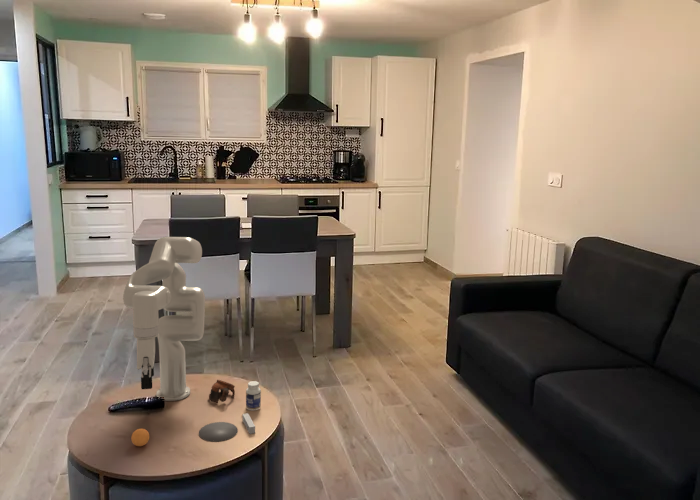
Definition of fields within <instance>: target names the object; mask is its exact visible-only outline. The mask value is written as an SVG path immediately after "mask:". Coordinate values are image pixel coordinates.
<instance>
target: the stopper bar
mask: <svg viewBox="0 0 700 500" xmlns="http://www.w3.org/2000/svg"><path fill="white" fill-rule="evenodd" d="M242 422H243V423H242V424H243V425H244V426H245V428H246V430H247V432H248V435H252V434H256V425H255V424H254V421H253V420H252V418H251V416H250V413H248V412H247V413H242Z"/></svg>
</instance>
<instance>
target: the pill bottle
mask: <svg viewBox="0 0 700 500" xmlns="http://www.w3.org/2000/svg"><path fill="white" fill-rule="evenodd" d="M261 393H262V391H261V388H260V382H259V381H256V380H253V381H252V380H251V381H248V383H247V388H246V390H245V408H246V409H247V410H249V411H258V410H260V409H261V397H262V396H261V395H262V394H261Z"/></svg>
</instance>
